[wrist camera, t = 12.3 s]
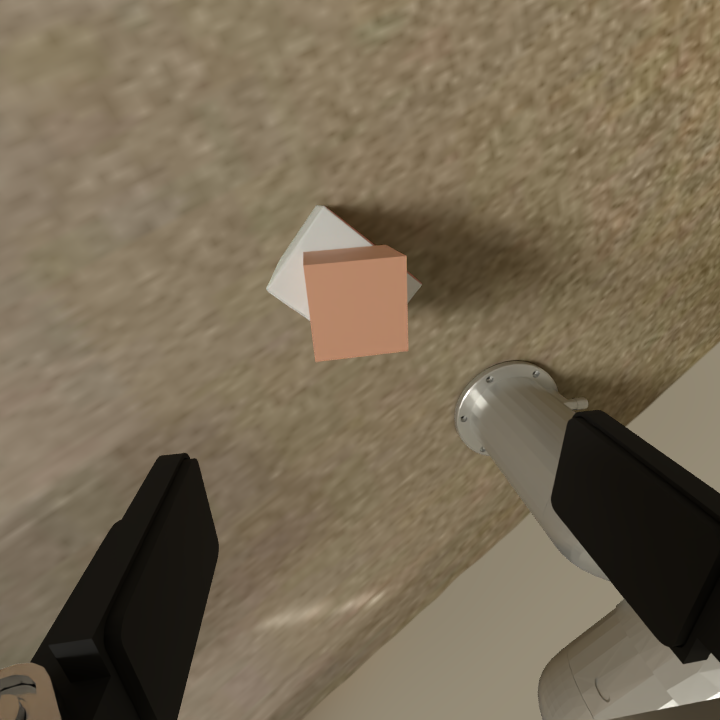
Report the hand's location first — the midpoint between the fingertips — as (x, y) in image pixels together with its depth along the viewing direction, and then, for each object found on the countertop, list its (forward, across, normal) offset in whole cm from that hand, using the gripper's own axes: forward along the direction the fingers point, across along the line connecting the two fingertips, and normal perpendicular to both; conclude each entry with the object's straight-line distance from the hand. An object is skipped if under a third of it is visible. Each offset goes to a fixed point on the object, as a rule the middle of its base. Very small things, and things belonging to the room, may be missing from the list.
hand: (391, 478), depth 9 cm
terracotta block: (+16, -1, -1) cm, 16 cm away
